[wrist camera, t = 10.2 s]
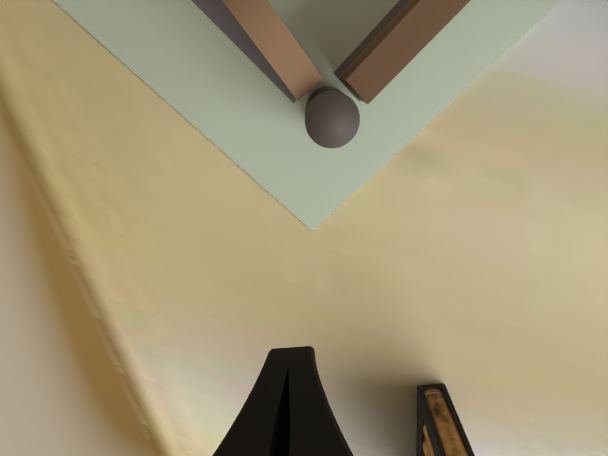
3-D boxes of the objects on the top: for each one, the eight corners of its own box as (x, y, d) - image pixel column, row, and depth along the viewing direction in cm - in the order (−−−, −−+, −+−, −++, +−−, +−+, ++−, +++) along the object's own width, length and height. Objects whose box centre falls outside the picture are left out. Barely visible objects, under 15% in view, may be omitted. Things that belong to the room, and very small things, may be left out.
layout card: (559, -1, 15) (563, -2, 15) (312, 229, 20) (312, 231, 19) (295, -411, 11) (295, -421, 11) (56, 1, 15) (52, 0, 15)
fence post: (499, -39, 15) (573, -82, 11) (326, 138, 18) (331, 159, 14) (470, -82, 14) (537, -144, 10) (296, 109, 17) (293, 121, 13)
